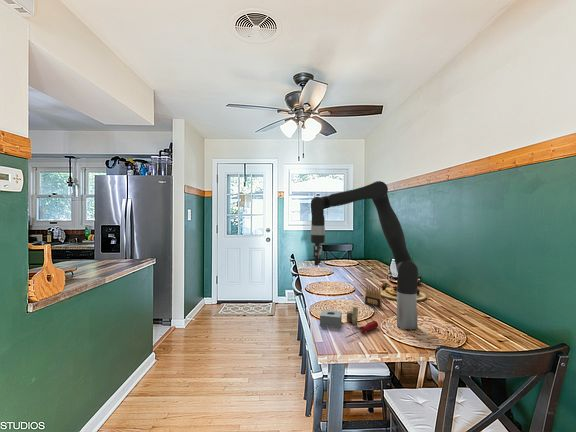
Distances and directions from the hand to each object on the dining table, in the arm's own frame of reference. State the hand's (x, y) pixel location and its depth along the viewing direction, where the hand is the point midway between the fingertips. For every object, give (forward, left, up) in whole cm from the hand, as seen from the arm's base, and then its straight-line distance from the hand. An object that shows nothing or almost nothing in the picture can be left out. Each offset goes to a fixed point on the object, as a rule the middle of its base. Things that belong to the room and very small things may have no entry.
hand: (317, 264), depth 159 cm
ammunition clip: (-30, -34, -29) cm, 54 cm away
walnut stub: (-18, -2, -29) cm, 34 cm away
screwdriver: (-23, +15, -29) cm, 40 cm away
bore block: (-8, +5, -29) cm, 30 cm away
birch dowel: (-20, +4, -29) cm, 35 cm away
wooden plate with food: (-50, -64, -30) cm, 87 cm away
